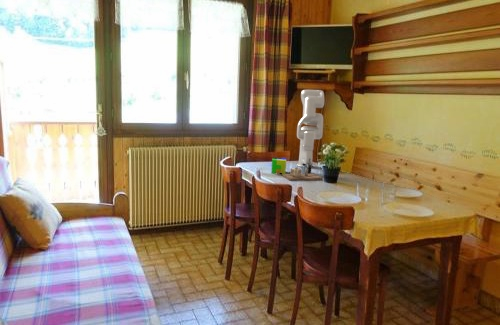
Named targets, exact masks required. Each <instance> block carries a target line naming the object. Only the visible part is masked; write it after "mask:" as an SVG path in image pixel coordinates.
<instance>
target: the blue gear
mask: <svg viewBox="0 0 500 325" xmlns="http://www.w3.org/2000/svg"><path fill="white" fill-rule="evenodd" d="M306 168H308V167H307V166H302V167H301V173H305V169H306Z"/></svg>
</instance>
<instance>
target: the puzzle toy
mask: <svg viewBox="0 0 500 325" xmlns="http://www.w3.org/2000/svg"><path fill="white" fill-rule="evenodd" d="M271 159H272V160H271V174H274V173H282V174H286V168H287V157H274V156H273V157H272V158H271ZM282 174H281V175H282Z"/></svg>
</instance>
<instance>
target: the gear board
mask: <svg viewBox="0 0 500 325" xmlns="http://www.w3.org/2000/svg"><path fill="white" fill-rule="evenodd" d="M301 170H302V168H301V167H299V166H297V167H296V166H295V167H292V168H290V173H285V174H281V175H282V177H284V178H285V179H286V180H288V181H290V182H295V181H296V182H299V181H301V182H302V181H303V182H305V181H323V177H322V176H320V175H318V174H316V173H313V172H311V173H308V169H307V168H306V169H305V173H301Z"/></svg>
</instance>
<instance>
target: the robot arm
mask: <svg viewBox="0 0 500 325" xmlns="http://www.w3.org/2000/svg"><path fill="white" fill-rule="evenodd" d="M300 98H301V99H300V100H301V103H302V117H301V118H300V119H299V121H298V123H297V127H296V138H297V139H299V140H300V142H299V156H298V163H296V166H297V167H298V168H302V166H307V167H308V168H307V169H308V173H312V167H313V165H314V164H313V158H314V157H313V155H314V154H313V151H314V147H315V146H314V144H315V140H321V139H322V138H323V131H324V129H323V128H324V115H323V114H322V113H320V112H319V113H317V112H316V111H317V110H316V109H322V108H324V105H325V93H324V91H323V90H321V89H303V90H301V93H300ZM303 124H304V126H302V125H303ZM305 125H306V126H305ZM307 125H308V126H307Z"/></svg>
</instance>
